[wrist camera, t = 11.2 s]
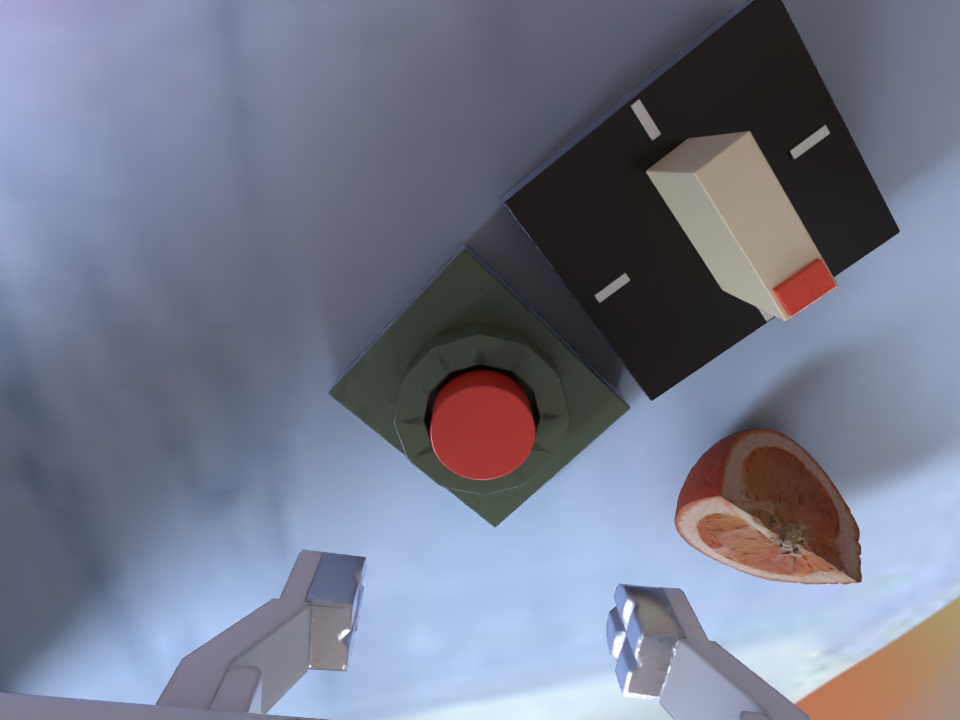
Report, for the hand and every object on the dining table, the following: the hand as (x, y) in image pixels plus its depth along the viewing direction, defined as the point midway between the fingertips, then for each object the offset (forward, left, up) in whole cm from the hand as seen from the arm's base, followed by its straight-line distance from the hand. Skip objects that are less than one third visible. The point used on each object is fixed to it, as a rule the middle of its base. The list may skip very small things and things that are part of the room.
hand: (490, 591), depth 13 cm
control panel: (+11, -1, -13) cm, 17 cm away
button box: (0, 0, -13) cm, 13 cm away
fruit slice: (+5, -13, -13) cm, 19 cm away
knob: (+11, -1, -10) cm, 15 cm away
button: (0, 0, -10) cm, 10 cm away
